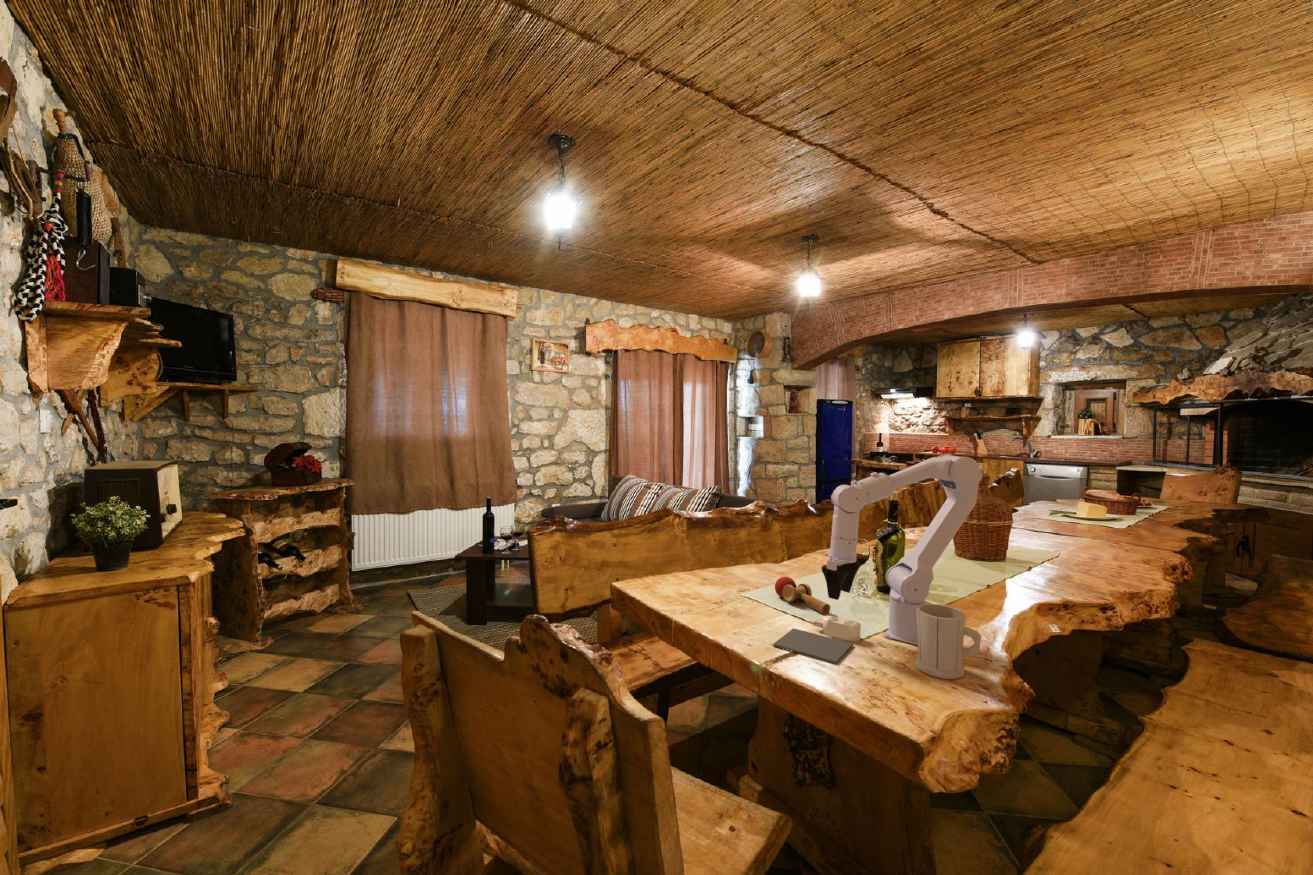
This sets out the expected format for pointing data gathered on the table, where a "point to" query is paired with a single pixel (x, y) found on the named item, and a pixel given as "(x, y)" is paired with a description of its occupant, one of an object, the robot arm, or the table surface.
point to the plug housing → (839, 628)
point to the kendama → (799, 594)
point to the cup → (943, 641)
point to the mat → (814, 645)
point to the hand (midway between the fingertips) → (839, 594)
